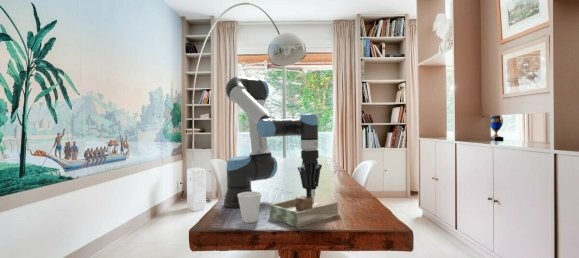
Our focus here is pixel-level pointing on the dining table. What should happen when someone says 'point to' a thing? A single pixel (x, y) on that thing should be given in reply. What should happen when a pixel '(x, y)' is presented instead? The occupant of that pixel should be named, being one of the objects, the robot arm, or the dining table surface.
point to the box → (301, 212)
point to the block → (303, 203)
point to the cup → (249, 206)
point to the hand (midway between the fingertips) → (310, 204)
